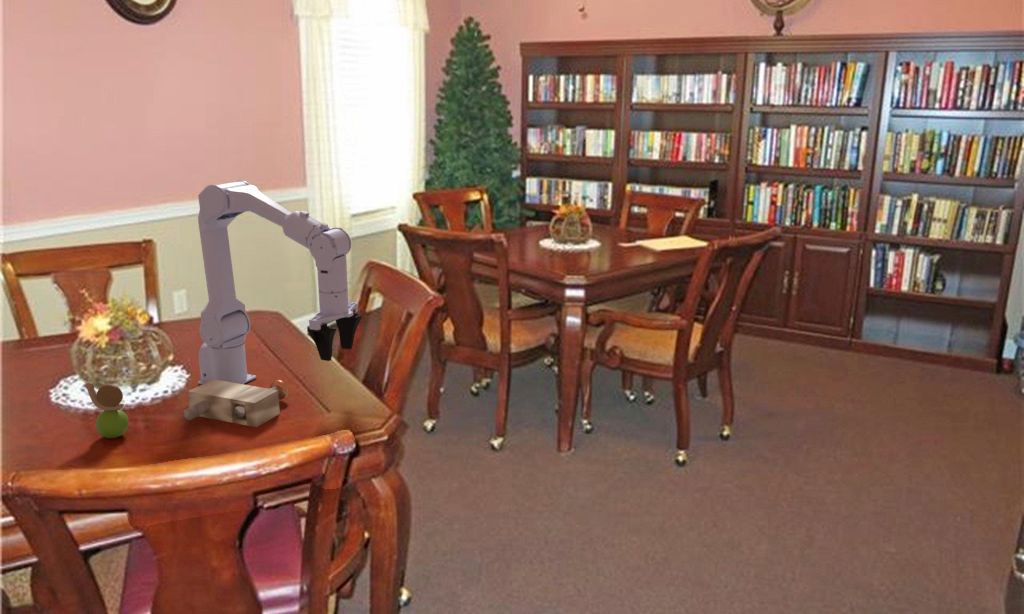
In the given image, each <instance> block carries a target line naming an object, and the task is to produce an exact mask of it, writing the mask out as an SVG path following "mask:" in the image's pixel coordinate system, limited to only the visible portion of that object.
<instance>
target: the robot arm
mask: <svg viewBox="0 0 1024 614" xmlns="http://www.w3.org/2000/svg"><path fill="white" fill-rule="evenodd" d="M197 199H198V204H199V205H198V206H199V211H198V216H197V220H198V221H197V222H198V229H199V230H198V231H199V235H200V236H199V237H200V244H201V252H202V259H203V265H204V266H203V267H204V275H205V280H206V288H207V296H208V302H207V303H206V305H205V307H204V308H203V309H202V310H201V312H200V320H201V321H200V325H199V329H198V330H199V336H200V338H201V340H202V341H203V344H202V345H201V346H200V348H199V351H198V365H199V372H200V373H199V374H200V380H198V382H197V383H198V384H200V385H202V384H204V383H206V382H208V381H210V380H212V379H214V380H220V381H226V382H232V383H238V384H244V385H246V384H247V383H248V382H250V381H253V380H254V379H256V378H257V375H255V374H249V373H248V368H247V359H246V358H247V357H246V346H245V341H246V340H247V334H248V333H249V332H250V331H251V326H252V325H251V324H252V323H251V319H250V317H249V315H248V313H247V311H246V305H245V303H243V302H242V301H241V300H239V299H238V298H237V295H236V294H237V293H236V287H235V278H234V272H233V264H232V253H231V249H230V248H231V246H230V240H229V232H228V226H229V225H230V224H231V223H233V221H234V220H235V219H236V218H237V216H240V215H241V214H243V213H246V212H251V213H253V214H255V215H257V216H259V217H261V218H263V219H265V220H267V221H269V222H271V223H273V224H275V225H277V226H279V227H280V228H282V232H283V234H284V235H285V236H286V237H288V238H289V239H291V240H293V241H294V242H296V243H297V244H299V245H301V246H302V247H304V248H306V249H308V250H309V252H310V254H311V256H312V257H313V260H314V261H315V267H316V269H317V270H316V271H317V273H316V274H317V287H318V303H319V304H318V305H319V307H318V308H319V311H317V313H315V315H314V316H313V317H312V318H310V319H309V320H308V324H309V325H308V326H307V327H306V330H307V333H308V335H309V336H310V338H311V339H312V340H313V343H314V344H315V346H316V349H317V352H318V355H319V358H320V360H321V361H326V362H330V361H332V357H333V343H334V337H335V333H336V331H337V330H338V334H339V343H340V346H341V349H343V350H352V349H353V344H354V341H355V336H356V331H357V329H358V325H360V323H361V320H362V314H360V313H357V312H359V303H358V302H355V301H354V302H353V301H349V288H348V268H347V265H348V264H347V255H348V253H349V252H350V251H351V248H352V240H351V237H350V236H349V234H348V232H346V231H345V230H344V229H343V228H342V227H336V226H335V227H332V228H331V227H329V225H328V224H327V223H326V222H323V223H322V222H321V221H318V220H317V219H315V218H313V217H312V216H310V213H309V211H306V210H296V211H292V212H291V211H290V210H288V209H286V207H283V206H282V205H281V204H279V203H277V202H276V201H274V200H273V199H271V198H270V197H269V196H266V195H265V194H264V193H262V192H261V191H260V190H259V188H258V187H257V186H256V185H253V184H250V183H249V182H248V181H246V180H237V181H233V182H225V183H219V184H214V183H213V184H209V185H207V186H205V187H204V188H203V190H202V191H201V192H199V194H198V198H197ZM333 322H336V326H337V329H336V328H331V327H330V326H328V325H329V324H331V323H333Z"/></svg>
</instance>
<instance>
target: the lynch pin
mask: <svg viewBox="0 0 1024 614" xmlns="http://www.w3.org/2000/svg"><path fill="white" fill-rule="evenodd" d="M269 389H273V390H278V397H279V401H280V400H284V399H286V398H287V397H288V395H289V394H290V388H289V385H288V384H287V382H286V381H284V380H282V379H277V380H274V381H273V382H271V384H270V386H269ZM234 413H235V415H236V416H237V417H243V416H244V415H246V409H245V405H239V406H237V407H235V408H234Z"/></svg>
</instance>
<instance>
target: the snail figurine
mask: <svg viewBox="0 0 1024 614" xmlns="http://www.w3.org/2000/svg"><path fill="white" fill-rule="evenodd" d="M88 379H89V375H85V377H83V380H84V381H85V389H86V390H87V392H88V395H89V398H90V400H91V402H92V404H93V405H94V406H95V407H96V408H98V409H99V410H103V411H102V412H101V413H100V414H98V416H97V418H96V420H95V429H96V431H97V433H98V434H99V435H100V436H102V437H104V438H106V439H116V438H119V437H121V436H123V435H124V434H125V433H126V432H127V430H128V428H129V424H130V423H129V421H130V420H129V417H128V415H127V414H126V412H125V411H123V410H121V409H122V408H123V407H124V406H125V404H124V403H121V402H122V400H123V399H124V395H123V391H122V390H121V388H120V387H119V386H117V385H116V384H111V383H107V384H103V385H101V386H100V387H99V388H98V389H97V392H96V390H95V384H94V383H93V382H92V381H88Z"/></svg>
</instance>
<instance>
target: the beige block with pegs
mask: <svg viewBox="0 0 1024 614" xmlns="http://www.w3.org/2000/svg"><path fill="white" fill-rule="evenodd" d="M187 395H188V404H189V405H188V406H189V407H188V408H186V409H184V411H183V416H184V418H185V419H186V420H188V421H191V420H194V419H195V418H198V417H201V418H206V419H210V420H215V421H216V420H217V421H223V422H226V423H227V422H228V423H233V424H237V425H243V426H248V427H251V428H259V426H262V425H263V424H265V423H266V422H268V421H270V420H271V419H274V418H275V417H277V416H279V415H280V410H281V409H280V400H279V397H278V390H273V389H270V388H266V387H261V386H255V385H249V384H238V383H232V382H226V381H220V380H214V379H212V380H210V381H208V382H206V383H204V384H200V385H198V386H196V387H194V388H192V389H189V390H187ZM239 405H245V409H246V415H244V416H243V417H237V416H236V415H235V413H234V408H235V407H237V406H239Z"/></svg>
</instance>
